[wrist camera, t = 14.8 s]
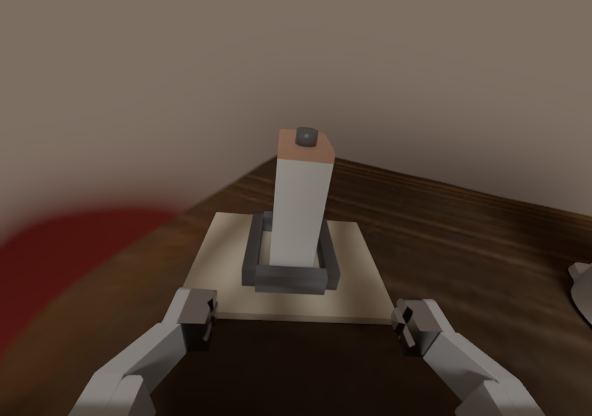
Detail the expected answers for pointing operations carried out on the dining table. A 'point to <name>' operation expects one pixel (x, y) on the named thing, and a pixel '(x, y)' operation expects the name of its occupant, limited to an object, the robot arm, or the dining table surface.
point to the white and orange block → (300, 195)
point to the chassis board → (289, 274)
